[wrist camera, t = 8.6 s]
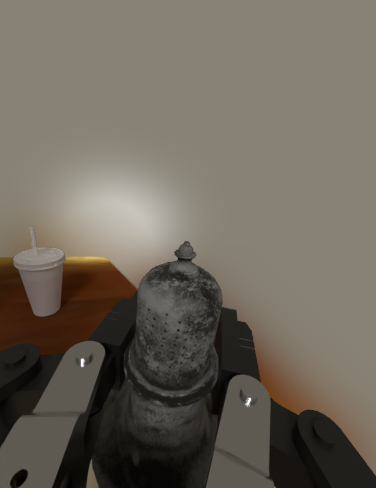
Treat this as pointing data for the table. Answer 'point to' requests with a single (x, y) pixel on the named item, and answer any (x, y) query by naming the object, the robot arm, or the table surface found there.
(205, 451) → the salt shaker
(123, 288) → the table surface
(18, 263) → the smoothie
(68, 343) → the table surface
